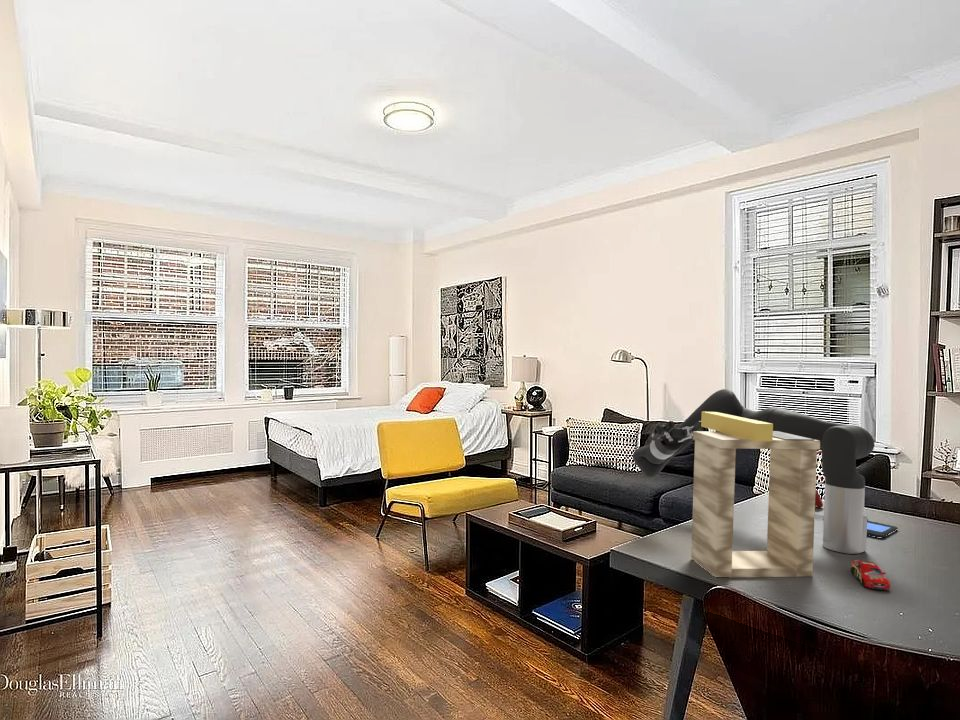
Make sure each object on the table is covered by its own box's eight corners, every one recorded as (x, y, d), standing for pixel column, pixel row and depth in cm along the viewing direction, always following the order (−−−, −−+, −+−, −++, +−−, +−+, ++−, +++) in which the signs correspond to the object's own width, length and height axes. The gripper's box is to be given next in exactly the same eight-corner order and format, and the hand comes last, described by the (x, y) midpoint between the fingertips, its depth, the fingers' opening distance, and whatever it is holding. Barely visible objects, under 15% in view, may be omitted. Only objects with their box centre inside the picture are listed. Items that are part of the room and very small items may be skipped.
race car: (893, 595, 131) (893, 576, 131) (864, 591, 133) (865, 573, 133) (874, 573, 144) (874, 557, 144) (848, 570, 145) (849, 554, 145)
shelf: (778, 557, 153) (783, 431, 153) (815, 577, 139) (820, 439, 139) (689, 558, 151) (693, 430, 150) (717, 579, 137) (721, 438, 136)
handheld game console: (882, 541, 170) (883, 508, 170) (830, 529, 180) (832, 498, 180) (898, 531, 181) (900, 500, 180) (849, 521, 191) (850, 492, 191)
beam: (715, 426, 161) (715, 411, 161) (772, 441, 135) (773, 423, 135) (701, 426, 161) (701, 411, 161) (755, 441, 135) (756, 423, 135)
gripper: (641, 432, 189) (660, 411, 175) (685, 433, 190) (707, 412, 176) (645, 455, 185) (665, 435, 171) (689, 455, 187) (712, 436, 173)
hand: (686, 423), depth 174 cm, fingers open, 8 cm apart
